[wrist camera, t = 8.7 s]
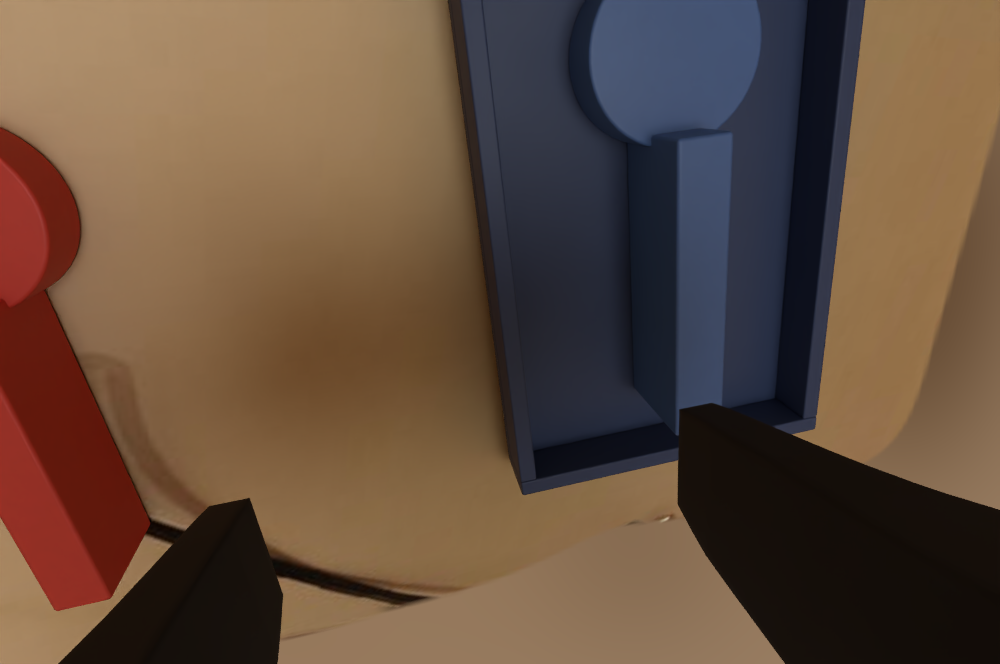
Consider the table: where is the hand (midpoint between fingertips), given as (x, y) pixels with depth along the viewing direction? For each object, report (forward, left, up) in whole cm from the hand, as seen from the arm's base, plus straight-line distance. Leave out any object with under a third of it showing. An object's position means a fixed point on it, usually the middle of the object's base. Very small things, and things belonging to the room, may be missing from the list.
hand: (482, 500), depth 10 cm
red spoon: (+1, +10, -8) cm, 13 cm away
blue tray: (+3, -7, -8) cm, 11 cm away
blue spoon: (+3, -7, -8) cm, 11 cm away
